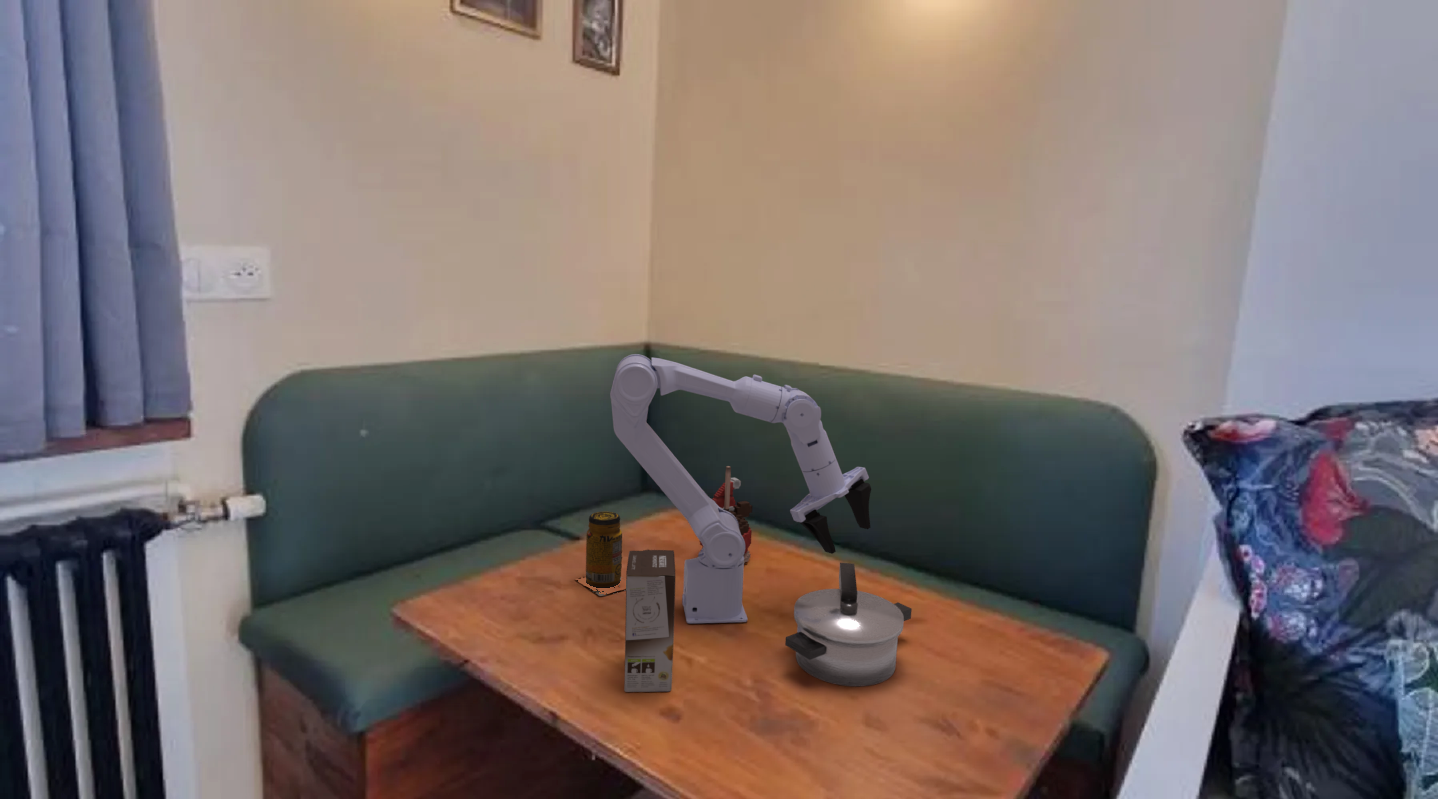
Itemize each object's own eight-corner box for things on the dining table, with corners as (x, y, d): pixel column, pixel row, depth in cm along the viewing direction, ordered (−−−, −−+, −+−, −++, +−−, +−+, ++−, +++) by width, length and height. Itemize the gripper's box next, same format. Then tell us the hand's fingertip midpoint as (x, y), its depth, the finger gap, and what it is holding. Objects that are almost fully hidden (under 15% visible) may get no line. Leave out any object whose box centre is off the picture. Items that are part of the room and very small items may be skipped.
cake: (713, 573, 141) (717, 476, 138) (687, 556, 149) (690, 463, 145) (762, 563, 146) (766, 469, 143) (734, 546, 154) (738, 457, 151)
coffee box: (673, 692, 102) (676, 576, 99) (623, 693, 102) (625, 575, 99) (671, 657, 111) (674, 549, 108) (625, 657, 111) (627, 548, 108)
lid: (908, 650, 103) (910, 625, 102) (791, 639, 105) (793, 614, 104) (895, 589, 122) (896, 567, 121) (796, 580, 124) (797, 558, 123)
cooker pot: (833, 703, 101) (836, 660, 100) (761, 658, 112) (763, 618, 111) (940, 656, 114) (943, 617, 113) (867, 619, 125) (870, 583, 124)
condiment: (610, 571, 140) (611, 506, 138) (637, 587, 134) (638, 520, 132) (574, 580, 136) (574, 514, 134) (599, 598, 129) (600, 528, 127)
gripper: (797, 488, 116) (829, 567, 119) (868, 443, 122) (896, 520, 125) (772, 483, 122) (802, 559, 125) (840, 441, 128) (868, 514, 131)
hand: (848, 539), depth 125 cm, fingers open, 7 cm apart
